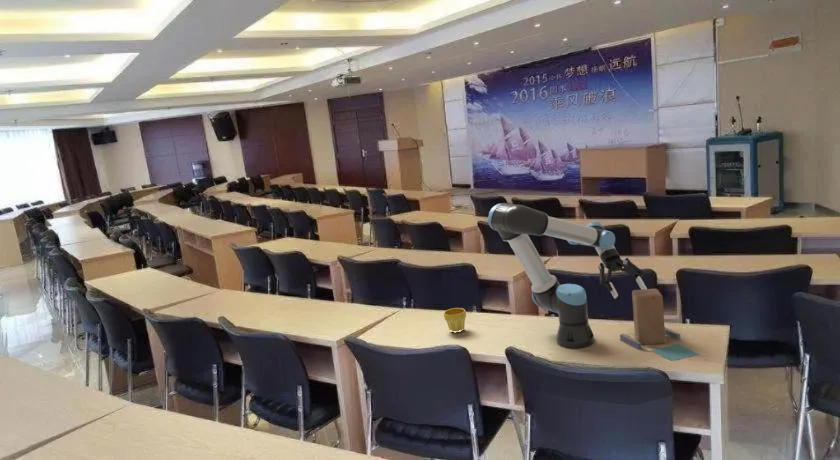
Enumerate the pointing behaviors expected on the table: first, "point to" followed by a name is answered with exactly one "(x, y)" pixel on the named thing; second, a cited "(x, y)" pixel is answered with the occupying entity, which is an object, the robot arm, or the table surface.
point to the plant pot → (455, 318)
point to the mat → (675, 352)
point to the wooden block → (648, 316)
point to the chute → (638, 345)
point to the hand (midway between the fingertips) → (630, 293)
